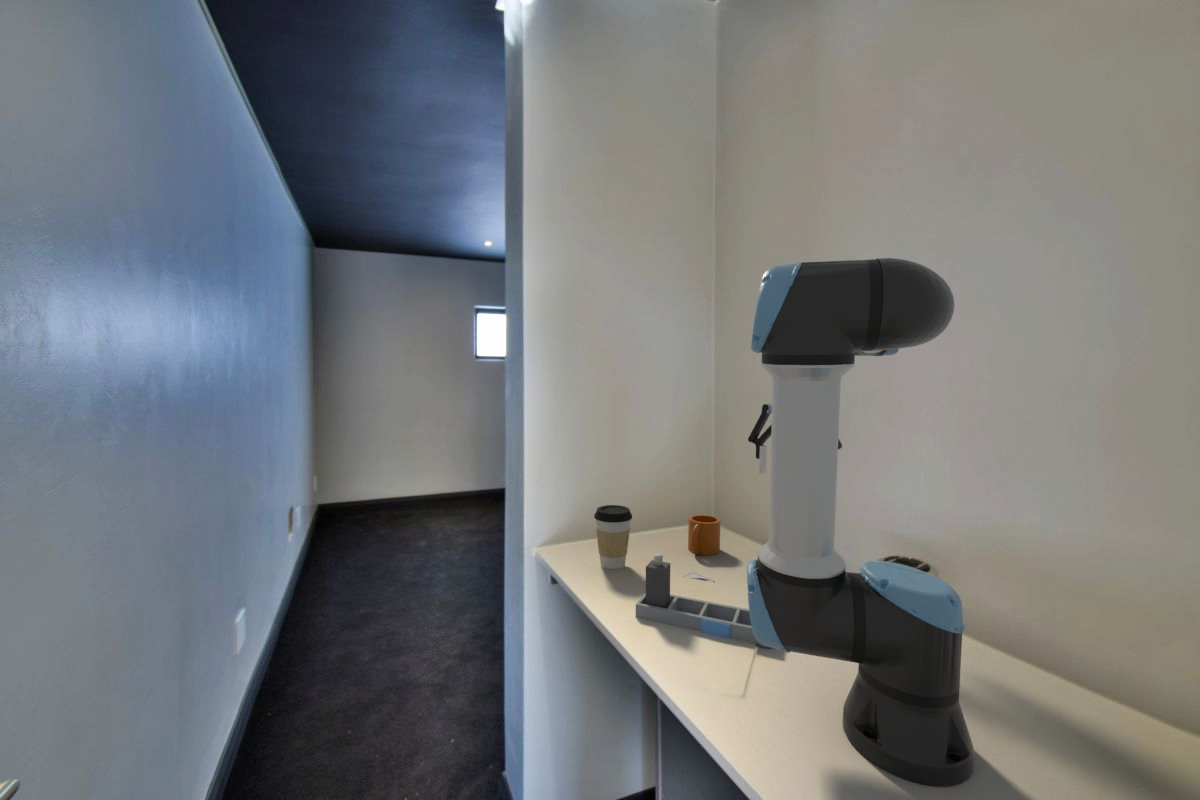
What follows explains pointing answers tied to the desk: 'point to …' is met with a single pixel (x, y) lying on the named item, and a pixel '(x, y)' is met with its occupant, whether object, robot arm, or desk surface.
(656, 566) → the grey block with peg
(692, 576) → the smartphone
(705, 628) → the compartment organizer tray
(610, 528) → the coffee cup
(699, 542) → the mug
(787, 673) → the desk surface
